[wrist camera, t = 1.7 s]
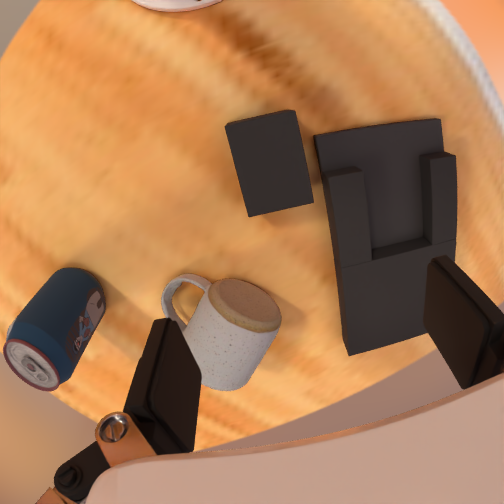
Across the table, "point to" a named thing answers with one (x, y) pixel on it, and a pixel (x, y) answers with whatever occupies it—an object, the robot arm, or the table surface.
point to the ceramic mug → (226, 328)
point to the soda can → (55, 328)
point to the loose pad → (270, 162)
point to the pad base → (387, 224)
